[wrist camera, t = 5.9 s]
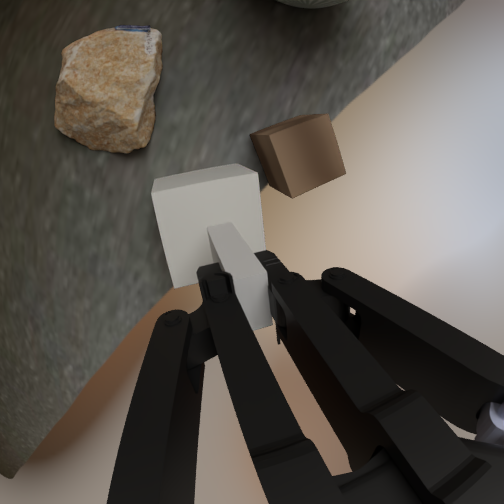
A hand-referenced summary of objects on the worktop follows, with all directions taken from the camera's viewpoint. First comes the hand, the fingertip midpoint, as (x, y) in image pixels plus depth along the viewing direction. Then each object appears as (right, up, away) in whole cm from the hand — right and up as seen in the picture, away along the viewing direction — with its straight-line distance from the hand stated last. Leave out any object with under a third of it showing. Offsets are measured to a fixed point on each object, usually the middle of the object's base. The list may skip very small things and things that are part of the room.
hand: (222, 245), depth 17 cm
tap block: (-2, +3, +7) cm, 8 cm away
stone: (-10, +12, +1) cm, 16 cm away
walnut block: (+5, +9, +7) cm, 12 cm away
